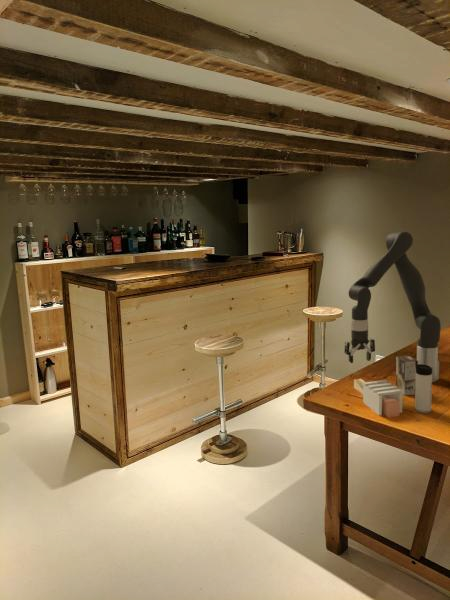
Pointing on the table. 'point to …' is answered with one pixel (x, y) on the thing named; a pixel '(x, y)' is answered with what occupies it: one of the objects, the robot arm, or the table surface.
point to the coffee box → (406, 374)
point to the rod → (361, 386)
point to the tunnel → (380, 394)
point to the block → (390, 407)
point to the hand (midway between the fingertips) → (359, 361)
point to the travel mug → (423, 388)
